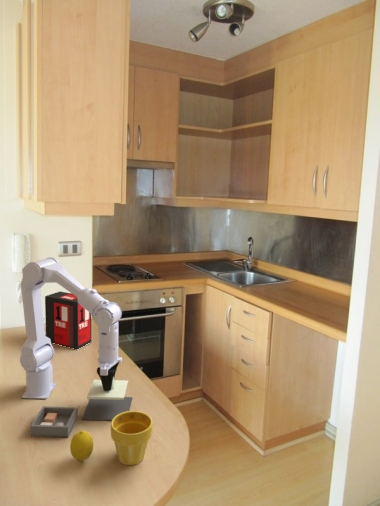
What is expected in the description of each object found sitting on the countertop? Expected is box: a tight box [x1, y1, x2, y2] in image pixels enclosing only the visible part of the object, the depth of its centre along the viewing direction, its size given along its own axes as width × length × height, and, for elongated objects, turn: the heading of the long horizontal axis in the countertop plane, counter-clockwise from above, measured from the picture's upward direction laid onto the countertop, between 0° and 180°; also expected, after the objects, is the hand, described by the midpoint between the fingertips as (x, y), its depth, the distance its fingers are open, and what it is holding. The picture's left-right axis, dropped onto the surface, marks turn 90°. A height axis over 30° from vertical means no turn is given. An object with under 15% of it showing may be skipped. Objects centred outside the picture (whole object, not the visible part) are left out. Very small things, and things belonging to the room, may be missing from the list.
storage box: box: [30, 405, 79, 439], centre depth 118 cm, size 10×10×3 cm
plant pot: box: [110, 410, 154, 466], centre depth 106 cm, size 10×10×10 cm
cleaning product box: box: [44, 290, 92, 350], centre depth 176 cm, size 16×9×20 cm, turn 66°
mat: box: [81, 396, 133, 422], centre depth 128 cm, size 13×13×1 cm
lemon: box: [69, 430, 94, 462], centre depth 104 cm, size 6×6×8 cm
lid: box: [86, 377, 129, 400], centre depth 127 cm, size 11×11×5 cm
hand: (108, 387), depth 127 cm, fingers closed on lid, 3 cm apart
